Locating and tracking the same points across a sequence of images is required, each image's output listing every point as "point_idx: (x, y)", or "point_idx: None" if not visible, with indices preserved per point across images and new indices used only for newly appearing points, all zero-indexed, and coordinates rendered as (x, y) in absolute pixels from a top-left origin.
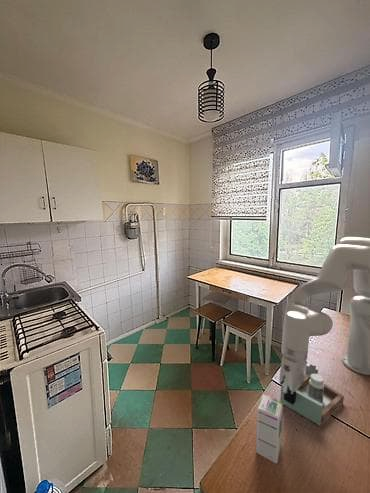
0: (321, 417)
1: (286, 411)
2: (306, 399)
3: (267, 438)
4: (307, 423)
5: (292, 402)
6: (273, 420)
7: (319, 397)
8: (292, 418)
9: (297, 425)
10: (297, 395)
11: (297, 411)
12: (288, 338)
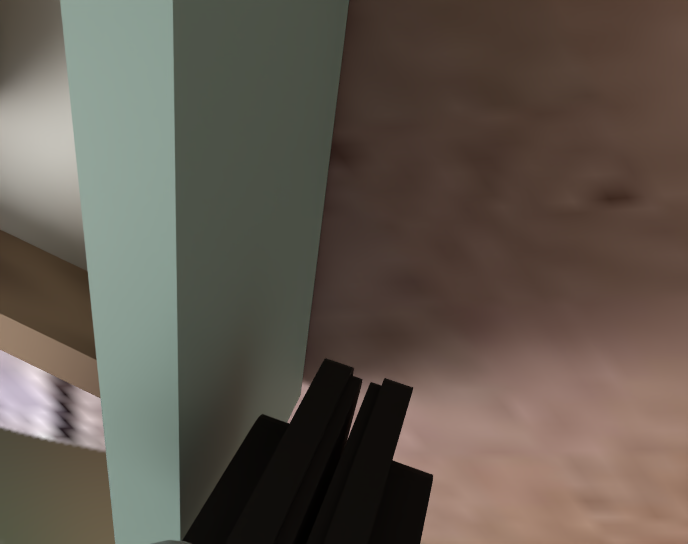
0: None
1: (383, 322)
2: (193, 237)
3: None
4: (418, 66)
5: (399, 424)
6: None
7: None
8: (450, 253)
9: (534, 188)
10: (205, 390)
11: (319, 217)
12: None
